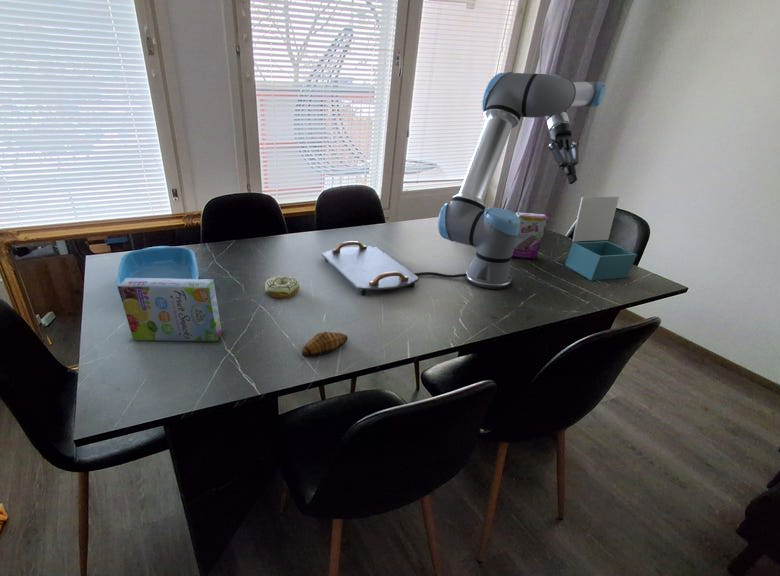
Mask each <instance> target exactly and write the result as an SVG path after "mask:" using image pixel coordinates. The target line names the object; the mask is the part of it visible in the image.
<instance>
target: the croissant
mask: <svg viewBox="0 0 780 576" xmlns="http://www.w3.org/2000/svg"><path fill="white" fill-rule="evenodd" d="M348 338H349V337H348V335H347V334H345V333H341V332H335V331H326V330H324V331H320V332H318V333H316V334H315V335H314V336H313V337H312V338H311V339H310V340H309V341H308V342H307V343H305V344H304V345H303V347H302V349H301V355H302V356H303V357H304V358H305V357H315V356H320V355H323V354H328V353H332V352H333V351H335V350H337V349H338V348H340V347H342V346H343V345H345V344H346V342H347V341H348V340H349V339H348Z"/></svg>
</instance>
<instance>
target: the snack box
mask: <svg viewBox="0 0 780 576" xmlns="http://www.w3.org/2000/svg"><path fill="white" fill-rule="evenodd" d="M117 290H118V293H119V296H120V299H121V304H122V307H123V310H124V313H125V317H126V321H127V323H128V326H129V330H130V333H131V337H132V340H133V341H164V342H165V341H166V342H218V341H219V338H220V336H221V335H222V333H223V332H222V324H221V318H220V313H219V305H218V300H217V293H216V287H215V280H214V279H212V278H211V279H209V278H208V279H207V278H206V279H205V278H198V279H160V278H125V280H124V281H123V282H122V283H121V284H120V285H119V286H118V287H117Z"/></svg>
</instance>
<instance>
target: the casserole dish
mask: <svg viewBox="0 0 780 576" xmlns="http://www.w3.org/2000/svg"><path fill="white" fill-rule="evenodd" d="M125 278H160V279H200V272H199V266H198V261H197V257H196V254H195V252H194V251H193V250H192V249H191V248H188V247H183V246H181V247H180V246H169V245H159V246H158V245H157V246H152V247H144V248H142V249H136V250H132V251H129V252H127V253H125V254H124V255H123V256H122V257H121V258H120V262H119V266H118V269H117V274H116V280H115V281H116V282H115V285H116V288H118V286H119V285H120V284H121V283H122V282H123V281H124V280H125Z"/></svg>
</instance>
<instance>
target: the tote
mask: <svg viewBox="0 0 780 576" xmlns="http://www.w3.org/2000/svg"><path fill="white" fill-rule="evenodd" d="M637 256H638V254H637V253H634V252H632V251H630V250H628V249H626V248H623V247H621V246H619V245H617V244H615V243H612V242H610V241H609V240H598V241H578V242H572V243H571V246H570V249H569V252H568V254H567V257H566V260H565V263H564V266H565V267H567V268H569V269H571V270H572V271H574V272H576V273H577V274H579V275H581V276H583V277H585V278H586V279H588V280H589V281H599V280H614V279H626V278H628V276H629V274H630V271H631V269H632V267H633V266H634V262H635V260H636V258H637Z"/></svg>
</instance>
